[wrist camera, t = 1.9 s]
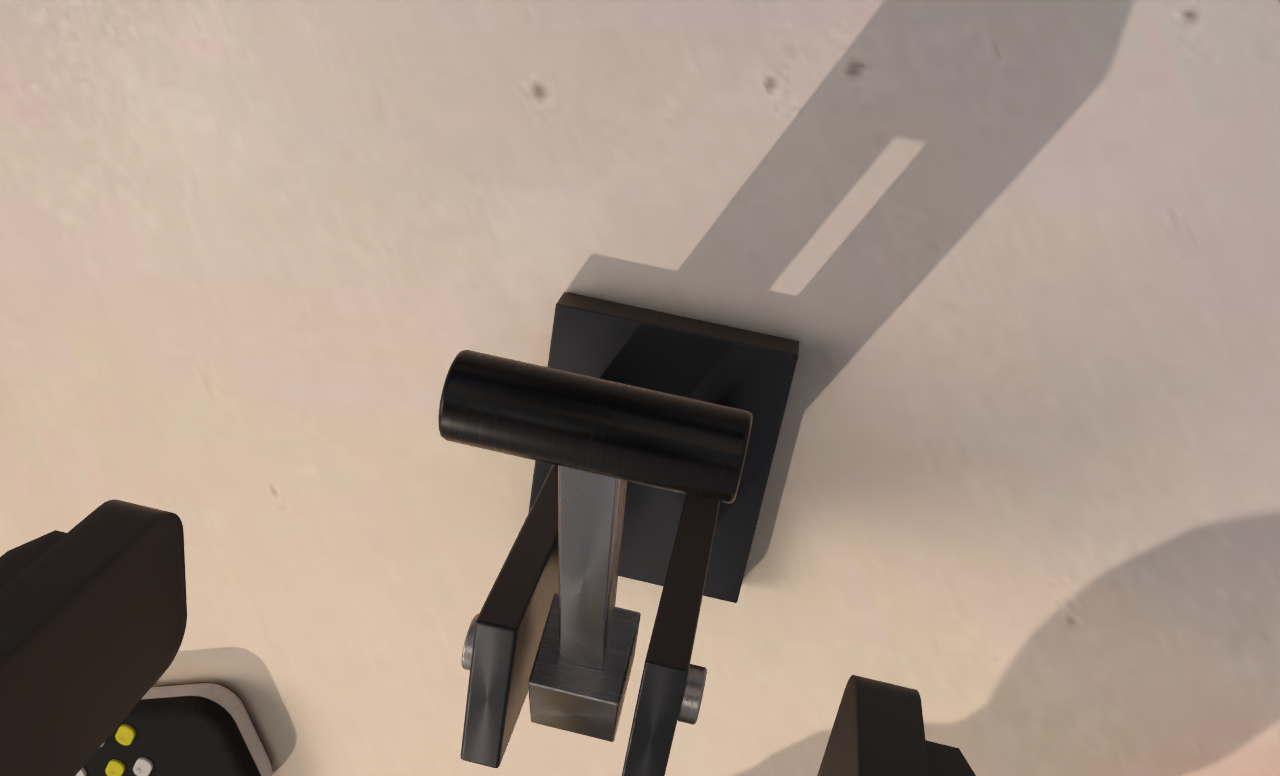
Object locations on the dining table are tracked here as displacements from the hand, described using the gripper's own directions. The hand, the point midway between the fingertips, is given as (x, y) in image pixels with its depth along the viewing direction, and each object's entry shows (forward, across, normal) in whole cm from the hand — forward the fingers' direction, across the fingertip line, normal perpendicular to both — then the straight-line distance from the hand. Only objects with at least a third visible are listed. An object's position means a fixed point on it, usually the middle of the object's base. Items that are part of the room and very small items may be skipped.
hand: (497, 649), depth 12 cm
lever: (+10, 0, +5) cm, 11 cm away
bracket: (+23, 0, +10) cm, 25 cm away
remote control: (+23, +21, +30) cm, 44 cm away
